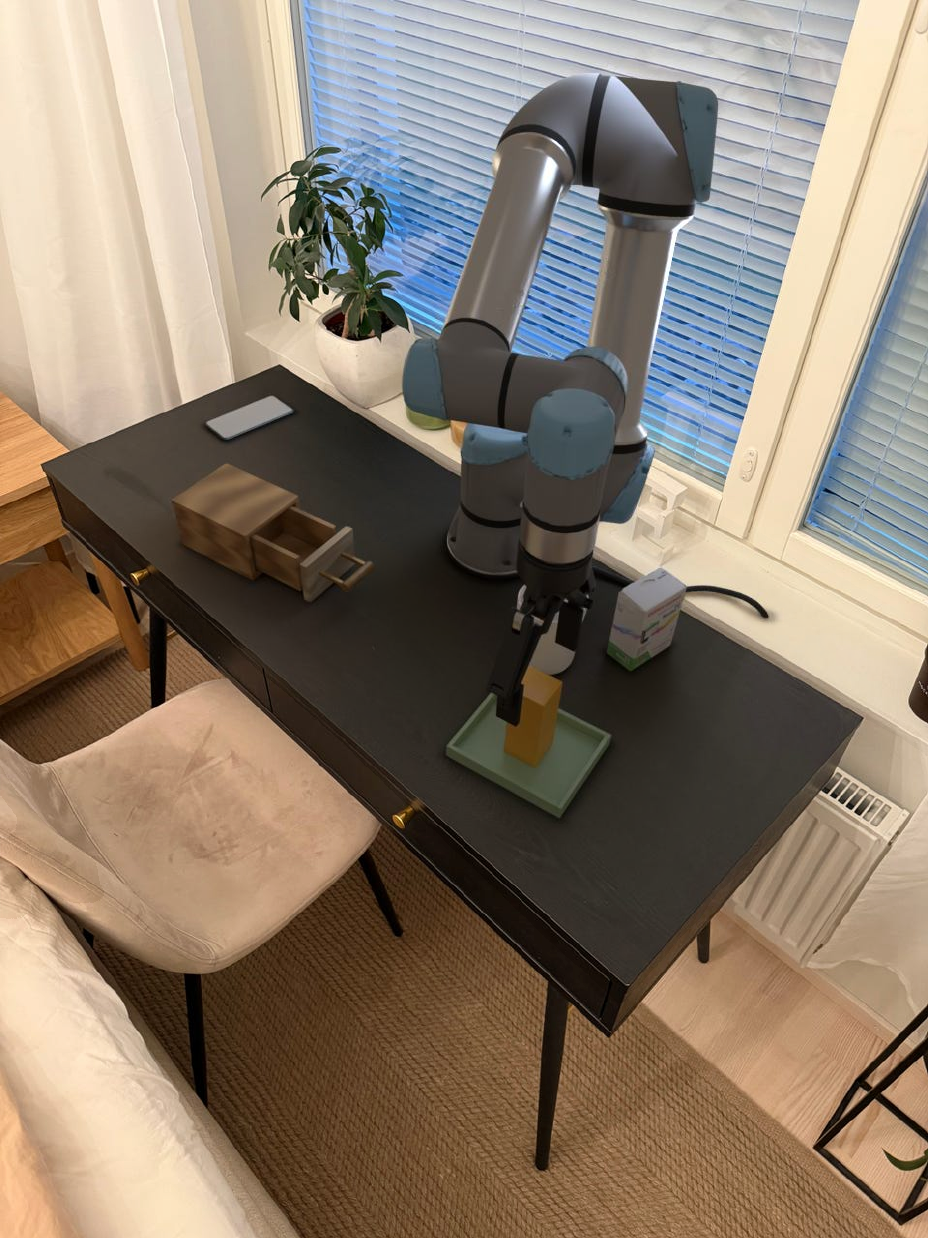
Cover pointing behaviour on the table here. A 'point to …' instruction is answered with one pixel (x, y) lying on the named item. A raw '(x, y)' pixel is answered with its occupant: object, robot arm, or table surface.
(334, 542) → the drawer
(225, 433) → the smartphone
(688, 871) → the table surface
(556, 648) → the mug
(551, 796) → the tray
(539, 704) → the block
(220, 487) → the cabinet
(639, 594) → the ink box
